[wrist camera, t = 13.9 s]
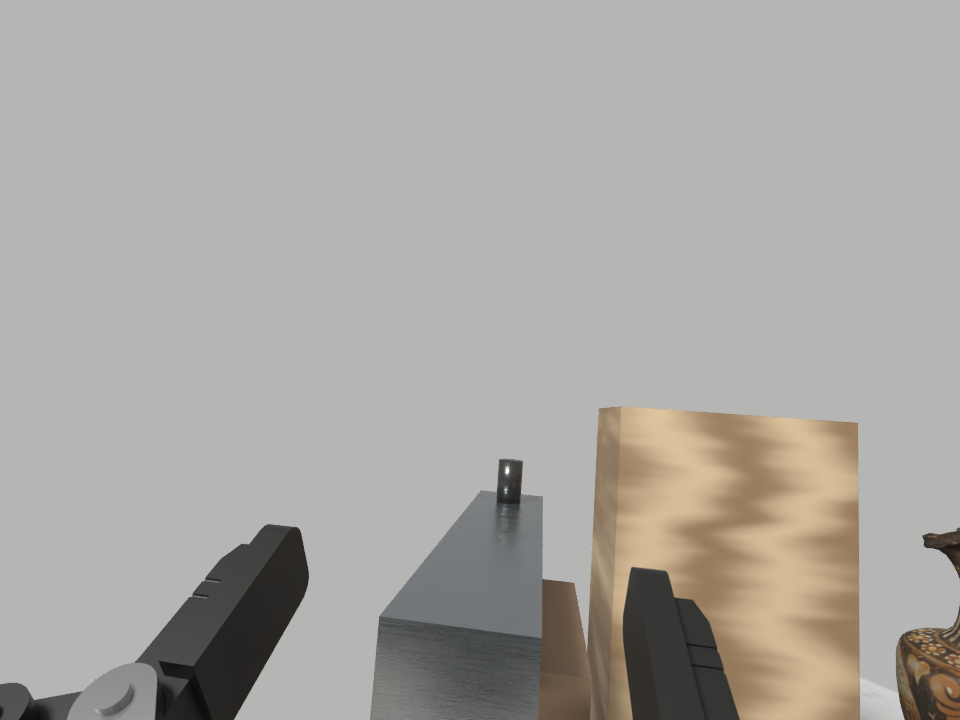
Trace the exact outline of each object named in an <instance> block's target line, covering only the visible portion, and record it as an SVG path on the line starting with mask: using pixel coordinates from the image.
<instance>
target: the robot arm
mask: <svg viewBox="0 0 960 720" xmlns="http://www.w3.org/2000/svg"><path fill="white" fill-rule="evenodd" d="M308 580H309V571H308V566H307V561H306V556H305V551H304V546H303V541H302V536H301V532H300V530H299V529H298V528H297V527H289V526H280V525H271V524H268V525H266V526H264V527H263V528H262V529H261V530H260V531H259V533H258V534H257V535H256V537H255V538H254V539H253V540H252V542H251V543H250V544H249V545H247V544H241V545H240V546H238V547H237V548H235V549H234V550H233V551H231V552H230V553H229V554H227V555H226V556H224V557H223V558H222V559H221V560H220V561H219V562H218V563H217V564H216V566H215V567H214V568H213V569H212V570H211V572H210V573H209V574H208V575H207V576H206V579H205V581H203V582H201V584H200V585H199V586H198V587H197V588H196V590H195V591H194V592H193V595H192V597H189V598H188V600H187V601H186V602H185V603H184V604H183V605H182V607H181V608H180V609H179V611H178V612H177V613H176V614H175V615H174V616H173V618H172V619H171V620H170V621H169V622H168V624H167V625H166V626H165V627H164V628H163V630H162V631H161V632H160V633H159V635H158V636H157V637H156V638H155V639H154V641H153V642H152V643H151V644H150V645H149V647H148V648H147V649H146V650H145V652H144V653H143V654H142V655H141V656H140V657H139V659H138V660H137V661H136V662H135V663H131V664H126V665H122V666H119V667H117V668H115V669H113V670H110V671H109V672H107V673H105V674H103V675H102V676H100V677H99V678H98V679H96V680H95V681H94V682H93V683H91V684H90V685H89V686H88V687H87V688H86V689H85V690H84V691H82V692H77V693H71V694H66V695H60V696H55V697H49V698H44V699H38V700H33V698H32V696H31V694H30V693H29V691H28V689H27V688H26V687H25V686H23V685H22V684H18V683H7V684H1V685H0V720H234V718H235V717H236V715H237V713H238V711H239V710H240V708H241V706H242V704H243V703H244V701H245V699H246V697H247V696H248V694H249V692H250V690H251V689H252V687H253V685H254V683H255V682H256V680H257V678H258V676H259V675H260V673H261V671H262V669H263V668H264V666H265V664H266V662H267V661H268V659H269V657H270V656H271V654H272V652H273V650H274V648H275V647H276V645H277V643H278V641H279V640H280V638H281V636H282V635H283V633H284V631H285V629H286V627H287V626H288V624H289V622H290V620H291V619H292V617H293V615H294V613H295V612H296V610H297V608H298V607H299V605H300V603H301V601H302V599H303V598H304V595H305V592H306V589H307V586H308ZM623 645H624V653H625V661H626V669H627V677H628V685H629V693H630V701H631V709H632V717H633V720H740V718H739V715H738V712H737V709H736V706H735V702H734V699H733V696H732V693H731V690H730V686H729V683H728V680H727V677H726V674H724V667H723V664H722V661H721V657H720V654H719V652H718V651H717V645H716V641H715V638H714V635H713V632H712V629H711V625H710V622H709V621H708V620H707V618H706V617H705V616H704V614H703V613H702V611H701V610H700V609H699V607H698V606H697V605H696V603H695V602H694V601H693V600H691V599H683V598H675V597H674V594H673V590H672V586H671V582H670V578H669V575H668V573H667V571H665V570H656V569H647V568H639V567H632V568H631V570H630V575H629V582H628V588H627V594H626V600H625V606H624V612H623Z"/></svg>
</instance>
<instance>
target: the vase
mask: <svg viewBox="0 0 960 720" xmlns="http://www.w3.org/2000/svg"><path fill="white" fill-rule="evenodd" d="M922 537H923V539H924V546H925V547H926V548H934V549H938V550H940V551H941V552H943V553H944V554H946V555H947V557H948V558H949V559H950V561H951V562H952V564H953V565H954V567H955V569H956V571H957V573H958V575H959V578H960V528H958V529H957V531H955V532H949V533H945V534H941V535H939V534H933V533H929V534H925V535H923V536H922ZM896 676H897V684H898V691H899V698H900V704H901V708H902V712H903V715H904V718H905V720H960V607H959V612H958V617H957V620H956V622H955V624H954V625H953V627H950V628H948V629H942V628H922V629H915V630H912V631H908V632H906V633H905V634H903V635H902V636H901V638H900V639H899V642H898V645H897V649H896Z"/></svg>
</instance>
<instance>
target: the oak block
mask: <svg viewBox="0 0 960 720" xmlns="http://www.w3.org/2000/svg"><path fill="white" fill-rule="evenodd" d="M858 517H859V516H858V423H851V422H837V421H823V420H807V419H794V418H780V417H765V416H751V415H737V414H722V413H708V412H694V411H679V410H665V409H650V408H635V407H611V408H601V409H599V417H598V438H597V460H596V481H595V502H594V523H593V543H592V564H591V584H590V606H589V627H588V647H587V655H588V661H589V666H590V672H591V677H592V687H591V709H590V720H633V717H632V709H631V701H630V693H629V685H628V677H627V669H626V661H625V653H624V645H623V612H624V606H625V600H626V594H627V588H628V582H629V575H630V570H631V568H632V567H639V568H647V569H656V570H665V571H667V573H668V575H669V578H670V582H671V586H672V590H673V594H674V597H675V598H683V599H691V600H693V601H694V602H695V603H696V605H697V606H698V607H699V609H700V610H701V611H702V613H703V614H704V616H705V617H706V618H707V620H708V621H709V622H710V625H711V629H712V632H713V635H714V638H715V641H716V645H717V651H718V652H719V654H720V657H721V661H722V664H723V667H724V674H726V677H727V680H728V683H729V686H730V690H731V693H732V696H733V699H734V702H735V706H736V709H737V712H738V715H739V718H740V720H860V675H859V674H860V673H859V672H860V671H859V529H858V527H859V518H858Z"/></svg>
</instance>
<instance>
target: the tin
mask: <svg viewBox="0 0 960 720" xmlns="http://www.w3.org/2000/svg"><path fill="white" fill-rule="evenodd" d="M522 466H523V461H520V460H514V459H499V470H498V485H497V492H490V491H480V493H479V494H478V495H477V496H476V497H475V499H474V500H473V501H472V502H471V504H470V505H469V506H468V507H467V509H466V510H465V511H464V512H463V514H462V515H461V516H460V517H459V519H458V520H457V521H456V522H455V523H454V525H453V526H452V527H451V528H450V530H449V531H448V532H447V533H446V535H445V536H444V537H443V538H442V540H441V541H440V542H439V543H438V545H437V546H436V547H435V548H434V550H433V551H432V552H431V553H430V554H429V556H428V557H427V558H426V559H425V561H424V562H423V563H422V564H421V565H420V567H419V568H418V569H417V570H416V572H415V573H414V574H413V575H412V577H411V578H410V579H409V581H408V582H407V583H406V584H405V585H404V587H403V588H402V589H401V590H400V591H399V593H398V594H397V595H396V597H395V598H394V599H393V600H392V601H391V603H390V604H389V605H388V606H387V608H386V609H385V610H384V611H383V612H382V614H381V615H380V616H379V627H378V638H377V650H376V661H375V672H374V682H373V694H372V705H371V716H370V720H537V718H538V701H539V683H540V665H541V648H542V512H543V509H542V507H543V505H542V504H543V503H542V502H543V497H542V496H532V495H522V494H521V482H522Z"/></svg>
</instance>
